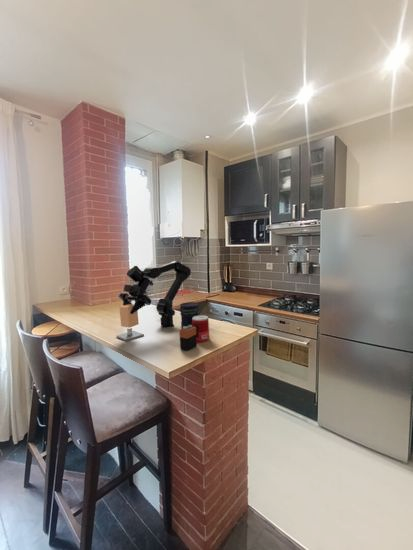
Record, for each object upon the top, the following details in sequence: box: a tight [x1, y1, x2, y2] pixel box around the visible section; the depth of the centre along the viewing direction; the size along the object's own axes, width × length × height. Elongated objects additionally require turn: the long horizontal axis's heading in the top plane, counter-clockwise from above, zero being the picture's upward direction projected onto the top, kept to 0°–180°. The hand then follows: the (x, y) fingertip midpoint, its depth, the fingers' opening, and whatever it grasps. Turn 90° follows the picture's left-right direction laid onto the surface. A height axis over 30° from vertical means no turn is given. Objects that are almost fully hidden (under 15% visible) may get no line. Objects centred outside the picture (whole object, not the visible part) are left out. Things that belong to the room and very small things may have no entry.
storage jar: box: [179, 301, 200, 329], centre depth 137 cm, size 10×10×15 cm
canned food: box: [192, 314, 210, 343], centre depth 124 cm, size 8×8×11 cm
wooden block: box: [119, 303, 139, 328], centre depth 130 cm, size 6×6×10 cm
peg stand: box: [115, 327, 145, 342], centre depth 134 cm, size 10×10×4 cm
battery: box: [178, 325, 198, 352], centre depth 115 cm, size 4×7×10 cm, turn 143°
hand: (126, 313), depth 129 cm, fingers closed on wooden block, 6 cm apart
